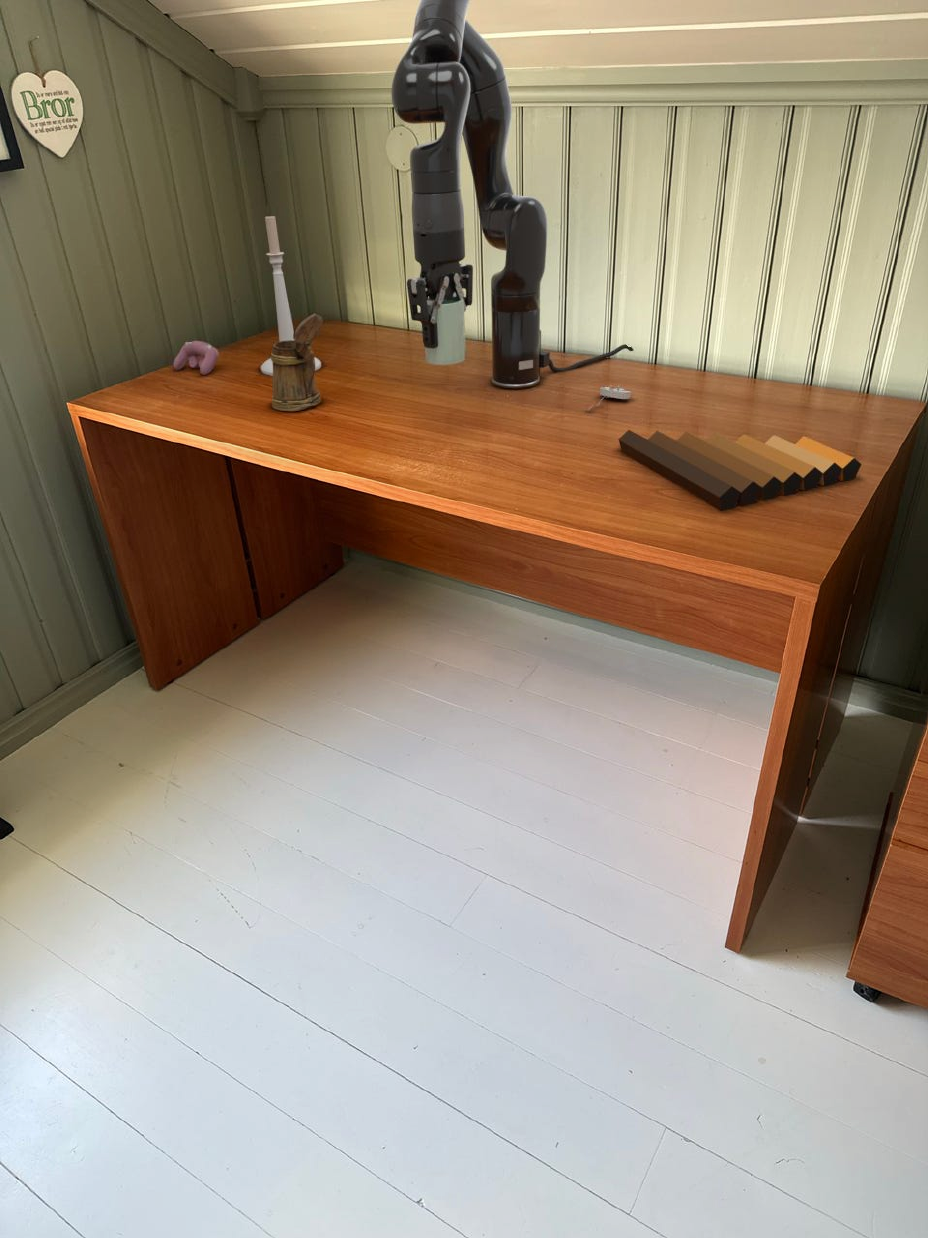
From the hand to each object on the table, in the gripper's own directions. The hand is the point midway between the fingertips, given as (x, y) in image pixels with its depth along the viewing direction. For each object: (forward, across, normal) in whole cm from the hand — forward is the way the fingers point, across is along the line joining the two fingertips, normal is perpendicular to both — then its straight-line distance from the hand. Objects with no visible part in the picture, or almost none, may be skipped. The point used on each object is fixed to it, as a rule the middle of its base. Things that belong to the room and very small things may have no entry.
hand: (444, 341), depth 132 cm
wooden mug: (+16, -1, -34) cm, 38 cm away
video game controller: (+16, -8, -72) cm, 75 cm away
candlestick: (+16, -19, -55) cm, 61 cm away
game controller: (+17, -30, +14) cm, 37 cm away
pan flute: (+17, -13, +44) cm, 48 cm away
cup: (+3, 0, 0) cm, 3 cm away
